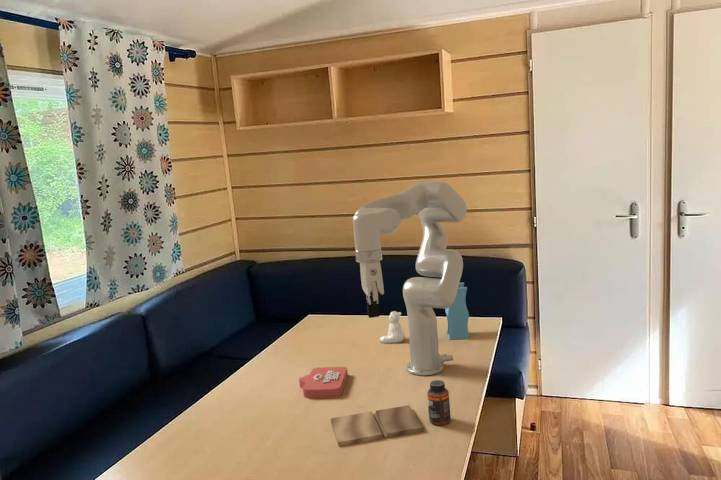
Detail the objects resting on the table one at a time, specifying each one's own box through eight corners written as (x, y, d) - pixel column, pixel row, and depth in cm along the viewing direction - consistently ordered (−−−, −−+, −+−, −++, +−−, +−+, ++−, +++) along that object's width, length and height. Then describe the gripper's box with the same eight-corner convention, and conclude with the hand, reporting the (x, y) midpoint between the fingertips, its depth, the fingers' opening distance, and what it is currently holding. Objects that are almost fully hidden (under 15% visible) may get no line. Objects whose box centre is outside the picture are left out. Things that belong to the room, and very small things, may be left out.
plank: (372, 415, 175) (371, 411, 174) (382, 438, 161) (382, 434, 161) (330, 422, 173) (330, 418, 172) (338, 446, 159) (337, 442, 159)
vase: (470, 338, 230) (467, 287, 226) (449, 340, 230) (446, 289, 226) (466, 331, 237) (464, 282, 234) (446, 333, 238) (443, 283, 234)
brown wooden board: (409, 408, 177) (409, 405, 176) (423, 431, 163) (422, 427, 163) (373, 414, 175) (373, 411, 174) (384, 438, 161) (383, 433, 161)
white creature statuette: (392, 335, 241) (389, 306, 239) (410, 338, 236) (408, 308, 234) (378, 343, 233) (376, 313, 231) (397, 346, 228) (395, 315, 226)
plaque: (304, 366, 207) (347, 364, 205) (305, 376, 208) (348, 375, 206) (292, 388, 190) (339, 387, 188) (293, 399, 190) (340, 398, 188)
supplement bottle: (452, 416, 170) (450, 378, 168) (448, 427, 164) (446, 388, 162) (431, 415, 172) (429, 377, 170) (427, 425, 166) (424, 386, 164)
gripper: (387, 258, 167) (392, 322, 171) (376, 249, 182) (380, 307, 185) (360, 261, 166) (366, 325, 169) (351, 252, 181) (356, 311, 184)
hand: (373, 316), depth 177 cm, fingers closed
